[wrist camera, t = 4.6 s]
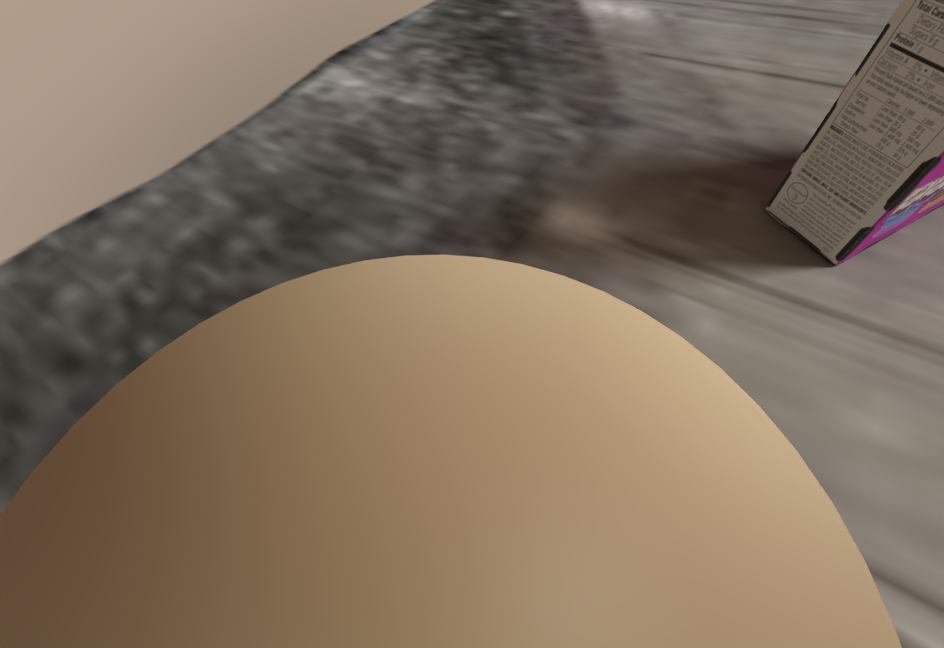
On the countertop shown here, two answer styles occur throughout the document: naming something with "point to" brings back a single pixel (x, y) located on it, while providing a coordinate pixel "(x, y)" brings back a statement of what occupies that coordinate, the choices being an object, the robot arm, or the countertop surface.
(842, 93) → the candy bar box
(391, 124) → the countertop surface
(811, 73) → the countertop surface
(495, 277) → the maple post
